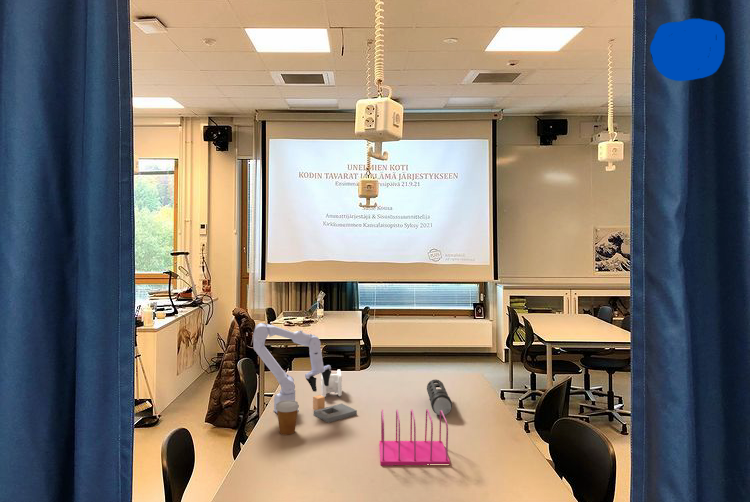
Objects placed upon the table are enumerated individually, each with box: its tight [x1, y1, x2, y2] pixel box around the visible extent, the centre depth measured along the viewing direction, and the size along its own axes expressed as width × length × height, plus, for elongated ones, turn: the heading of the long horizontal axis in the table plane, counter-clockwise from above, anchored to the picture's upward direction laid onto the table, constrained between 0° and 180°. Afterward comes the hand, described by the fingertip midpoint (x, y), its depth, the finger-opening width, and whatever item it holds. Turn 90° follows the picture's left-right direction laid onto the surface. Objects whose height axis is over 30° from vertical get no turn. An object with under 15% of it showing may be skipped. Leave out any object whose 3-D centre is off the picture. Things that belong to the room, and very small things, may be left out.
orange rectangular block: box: [312, 394, 326, 411], centre depth 224 cm, size 4×4×6 cm
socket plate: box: [313, 403, 358, 424], centre depth 217 cm, size 16×12×2 cm
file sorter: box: [378, 408, 451, 467], centre depth 176 cm, size 17×25×16 cm
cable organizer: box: [320, 369, 343, 397], centre depth 246 cm, size 15×11×12 cm
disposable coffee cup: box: [276, 400, 299, 436], centre depth 197 cm, size 10×10×12 cm
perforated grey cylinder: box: [426, 379, 453, 417], centre depth 227 cm, size 10×28×10 cm, turn 179°
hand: (320, 388), depth 225 cm, fingers open, 7 cm apart
